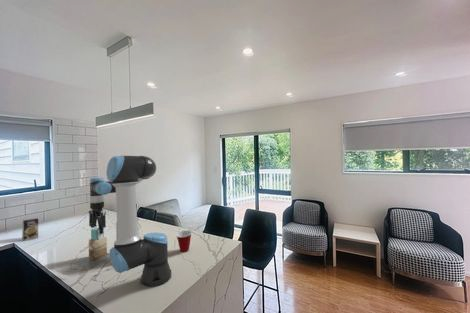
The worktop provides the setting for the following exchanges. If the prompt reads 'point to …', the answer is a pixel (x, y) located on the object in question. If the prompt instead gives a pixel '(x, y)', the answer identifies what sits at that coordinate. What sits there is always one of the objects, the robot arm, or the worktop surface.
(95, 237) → the teal block
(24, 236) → the coffee box
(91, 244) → the beech block
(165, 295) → the worktop surface
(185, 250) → the plastic cup
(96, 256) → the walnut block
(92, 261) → the slate board
